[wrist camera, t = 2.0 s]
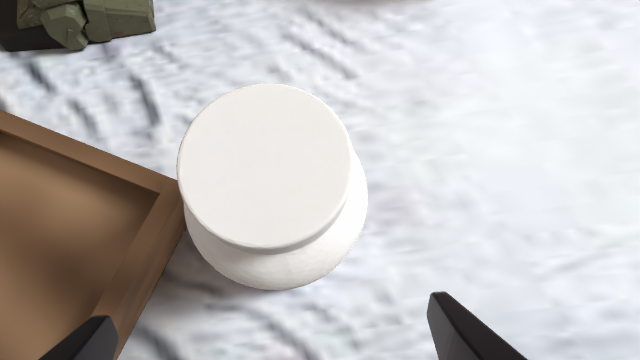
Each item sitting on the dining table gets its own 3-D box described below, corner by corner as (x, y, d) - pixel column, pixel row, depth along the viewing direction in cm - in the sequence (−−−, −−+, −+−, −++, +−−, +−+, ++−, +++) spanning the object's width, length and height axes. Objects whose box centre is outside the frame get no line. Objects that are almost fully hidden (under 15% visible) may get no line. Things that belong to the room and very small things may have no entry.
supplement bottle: (231, 188, 22) (137, 59, 10) (333, 175, 22) (367, 40, 10) (238, 296, 20) (131, 311, 8) (349, 280, 20) (417, 269, 8)
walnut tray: (72, 443, 17) (27, 474, 14) (-154, 335, 18) (-239, 344, 15) (201, 197, 21) (185, 183, 19) (11, 121, 22) (-32, 97, 20)
